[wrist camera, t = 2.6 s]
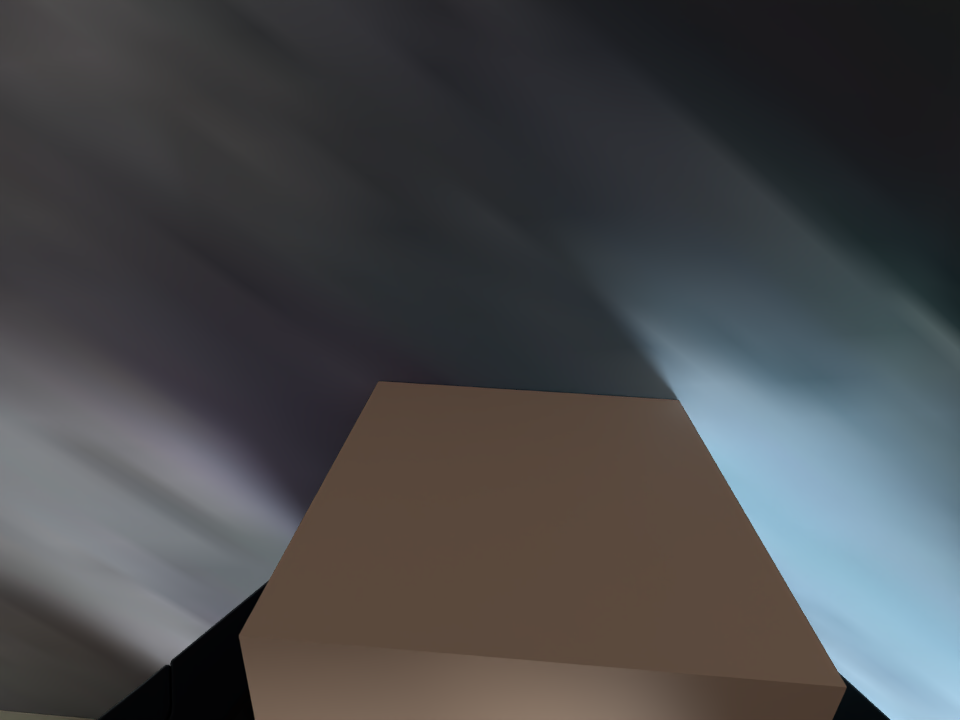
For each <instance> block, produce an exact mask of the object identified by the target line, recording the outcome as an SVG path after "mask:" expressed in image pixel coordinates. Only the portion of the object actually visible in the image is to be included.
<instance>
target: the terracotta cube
mask: <svg viewBox="0 0 960 720" xmlns="http://www.w3.org/2000/svg"><path fill="white" fill-rule="evenodd" d="M239 640H240V645H241V650H242V655H243V660H244V665H245V671H246V676H247V681H248V686H249V691H250V696H251V702H252V707H253V712H254V717H255V720H832V719H833V717H834V715H835V713H836V710H837V708H838V706H839V704H840V702H841V699H842V697H843V695H844V693H845V690H846V688H847V687H846V685H845V683H844V681H843V680H842V678H841V676H840V675H839V673H838V671H837V669H836V668H835V666H834V664H833V663H832V661H831V659H830V657H829V656H828V654H827V652H826V651H825V649H824V647H823V646H822V644H821V642H820V640H819V639H818V637H817V635H816V634H815V632H814V630H813V628H812V627H811V625H810V623H809V622H808V620H807V618H806V616H805V615H804V613H803V611H802V610H801V608H800V606H799V604H798V603H797V601H796V599H795V598H794V596H793V594H792V593H791V591H790V589H789V587H788V586H787V584H786V582H785V581H784V579H783V577H782V575H781V574H780V572H779V570H778V569H777V567H776V565H775V563H774V562H773V560H772V558H771V557H770V555H769V553H768V552H767V550H766V548H765V546H764V545H763V543H762V541H761V540H760V538H759V536H758V534H757V533H756V531H755V529H754V528H753V526H752V524H751V522H750V521H749V519H748V517H747V516H746V514H745V512H744V511H743V509H742V507H741V505H740V504H739V502H738V500H737V499H736V497H735V495H734V493H733V492H732V490H731V488H730V487H729V485H728V483H727V481H726V480H725V478H724V476H723V475H722V473H721V471H720V470H719V468H718V466H717V464H716V463H715V461H714V459H713V458H712V456H711V454H710V452H709V451H708V449H707V447H706V446H705V444H704V442H703V440H702V439H701V437H700V435H699V434H698V432H697V430H696V429H695V427H694V425H693V423H692V422H691V420H690V418H689V417H688V415H687V413H686V411H685V410H684V408H683V406H682V405H681V403H680V401H679V400H670V399H655V398H639V397H623V396H607V395H591V394H575V393H559V392H543V391H527V390H511V389H495V388H479V387H463V386H447V385H432V384H416V383H400V382H384V381H378V383H377V385H376V387H375V388H374V390H373V392H372V394H371V396H370V398H369V399H368V401H367V403H366V405H365V407H364V408H363V410H362V412H361V414H360V416H359V418H358V419H357V421H356V423H355V425H354V427H353V428H352V430H351V432H350V434H349V436H348V438H347V439H346V441H345V443H344V445H343V447H342V449H341V450H340V452H339V454H338V456H337V458H336V459H335V461H334V463H333V465H332V467H331V469H330V470H329V472H328V474H327V476H326V478H325V479H324V481H323V483H322V485H321V487H320V489H319V490H318V492H317V494H316V496H315V498H314V499H313V501H312V503H311V505H310V507H309V509H308V510H307V512H306V514H305V516H304V518H303V520H302V521H301V523H300V525H299V527H298V529H297V530H296V532H295V534H294V536H293V538H292V540H291V541H290V543H289V545H288V547H287V549H286V550H285V552H284V554H283V556H282V558H281V560H280V561H279V563H278V565H277V567H276V569H275V570H274V572H273V574H272V576H271V578H270V580H269V581H268V583H267V585H266V587H265V589H264V590H263V592H262V594H261V596H260V598H259V600H258V601H257V603H256V605H255V607H254V609H253V611H252V612H251V614H250V616H249V618H248V620H247V621H246V623H245V625H244V627H243V629H242V631H241V632H240V634H239Z"/></svg>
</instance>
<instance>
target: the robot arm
mask: <svg viewBox="0 0 960 720" xmlns="http://www.w3.org/2000/svg"><path fill="white" fill-rule="evenodd" d="M267 583H268V581H267V582H266V583H265V584H264V585H263V586H261V587H260V588H259V589H258V590H256V591H255V592H254V593H253V594H252V595H250V596H249V597H248V598H247V599H245V600H244V601H243V602H242V603H241V604H239V605H238V606H237V607H236V608H235V609H233V610H232V611H231V612H230V613H228V614H227V615H226V616H225V617H224V618H222V619H221V620H220V621H219V622H217V623H216V624H215V625H214V626H213V627H211V628H210V629H209V630H208V631H207V632H205V633H204V634H203V635H202V636H200V637H199V638H198V639H197V640H196V641H194V642H193V643H192V644H191V645H189V646H188V647H187V648H186V649H185V650H183V651H182V652H181V653H180V654H179V655H177V656H176V657H175V658H174V659H172V661H171V663H170V665H165V666H164V667H162V668H161V669H160V670H159V671H158V672H156V673H155V674H154V675H153V676H151V677H150V678H149V679H148V680H147V681H145V682H144V683H143V684H142V685H140V686H139V687H138V688H137V689H135V690H134V691H133V692H132V693H130V694H129V695H128V696H126V697H125V698H124V699H123V700H121V701H120V702H119V703H118V704H116V705H115V706H114V707H113V708H111V709H110V710H109V711H107V712H106V713H105V714H104V715H102V716H101V717H100V718H98V719H97V720H255V717H254V712H253V707H252V702H251V696H250V691H249V686H248V681H247V676H246V671H245V665H244V660H243V655H242V650H241V645H240V640H239V634H240V632H241V631H242V629H243V627H244V625H245V623H246V621H247V620H248V618H249V616H250V614H251V612H252V611H253V609H254V607H255V605H256V603H257V601H258V600H259V598H260V596H261V594H262V592H263V590H264V589H265V587H266V585H267ZM838 673H839V672H838ZM839 675H840V676H841V678H842V680H843V681H844V683H845V685H846V687H847V688H846V690H845V693H844V695H843V697H842V699H841V702H840V704H839V706H838V708H837V710H836V713H835V715H834V717H833V719H832V720H890V719H889V718H888V717H887V716H886V715H885V714H884V713H883V712H881V711H880V710H879V709H878V708H877V707H876V706H875V705H874V704H873V703H872V702H870V701H869V700H868V699H867V698H866V697H865V696H864V695H863V694H862V693H861V692H860V691H858V690H857V689H856V688H855V687H854V686H853V685H852V684H851V683H850V682H849V681H847V680H846V679H845V678H844V677H843V676H842V675H841V674H840V673H839Z"/></svg>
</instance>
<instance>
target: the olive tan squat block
mask: <svg viewBox="0 0 960 720" xmlns="http://www.w3.org/2000/svg"><path fill="white" fill-rule="evenodd" d="M0 720H97V719H87V718H76V717H66V716H55V715H44V714H33V713H22V712H12V711H1V710H0Z"/></svg>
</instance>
